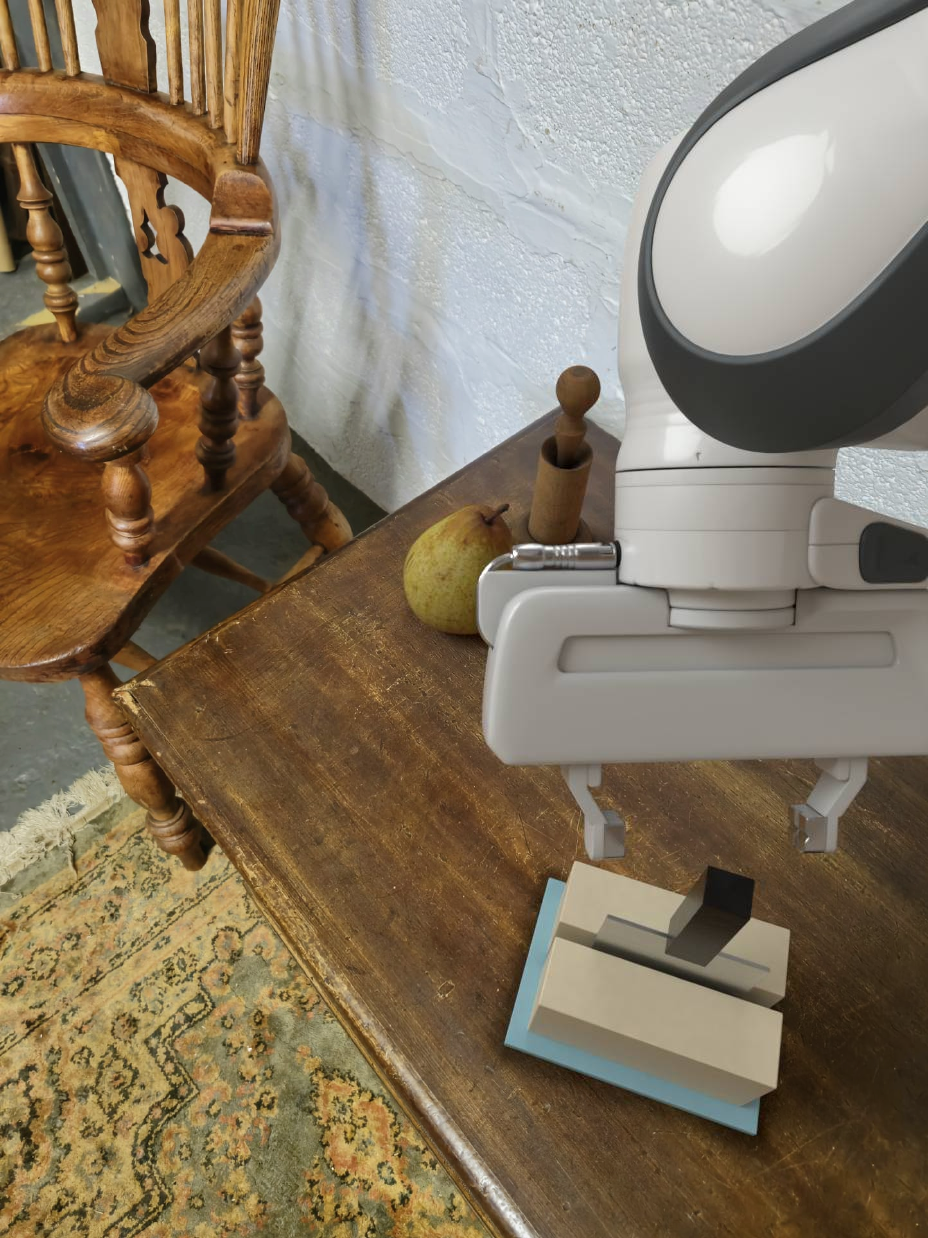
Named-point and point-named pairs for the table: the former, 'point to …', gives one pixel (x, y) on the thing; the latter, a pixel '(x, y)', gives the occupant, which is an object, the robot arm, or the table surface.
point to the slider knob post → (693, 936)
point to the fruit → (455, 566)
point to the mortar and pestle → (563, 469)
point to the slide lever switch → (648, 1005)
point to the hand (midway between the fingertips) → (708, 852)
